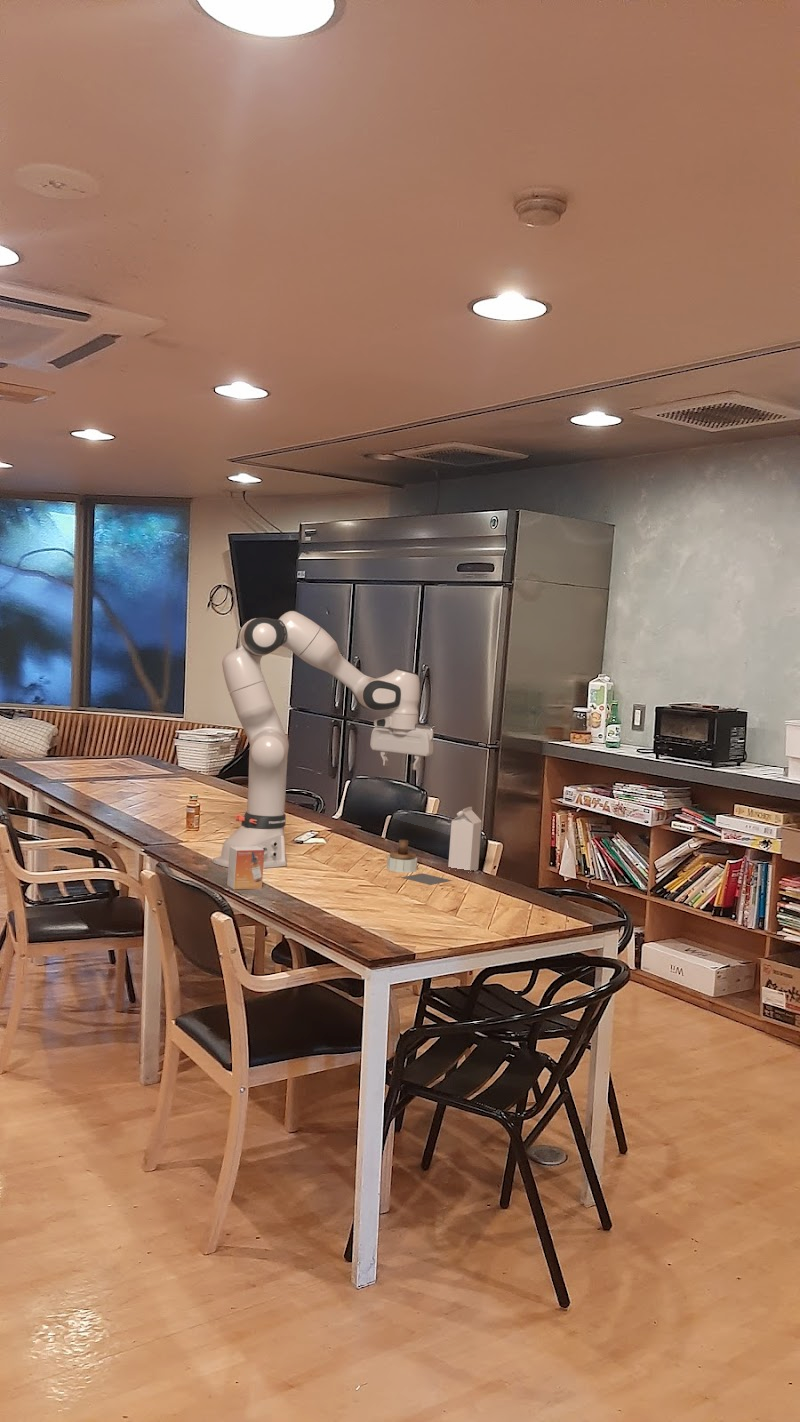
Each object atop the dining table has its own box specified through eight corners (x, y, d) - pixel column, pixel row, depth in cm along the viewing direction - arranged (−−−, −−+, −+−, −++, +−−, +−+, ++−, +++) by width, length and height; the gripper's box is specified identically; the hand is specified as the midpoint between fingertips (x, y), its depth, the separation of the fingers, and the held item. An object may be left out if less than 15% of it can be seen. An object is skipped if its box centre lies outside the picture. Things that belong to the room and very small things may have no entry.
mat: (430, 886, 304) (430, 884, 304) (400, 878, 311) (400, 877, 311) (452, 881, 312) (452, 880, 312) (422, 874, 319) (422, 873, 319)
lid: (404, 860, 317) (405, 843, 317) (384, 856, 322) (385, 839, 322) (420, 858, 323) (421, 841, 323) (400, 853, 328) (401, 837, 328)
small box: (233, 890, 284) (235, 850, 283) (226, 885, 289) (228, 846, 288) (262, 889, 288) (265, 849, 287) (255, 884, 293) (257, 845, 292)
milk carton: (478, 870, 331) (482, 808, 330) (469, 873, 325) (474, 810, 324) (456, 866, 334) (461, 805, 333) (447, 870, 328) (452, 807, 326)
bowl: (403, 875, 317) (404, 861, 316) (381, 869, 322) (382, 856, 322) (422, 871, 323) (423, 858, 323) (399, 866, 329) (400, 853, 328)
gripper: (438, 725, 330) (435, 771, 331) (379, 719, 340) (376, 763, 341) (429, 726, 325) (426, 772, 326) (369, 720, 334) (366, 764, 335)
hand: (400, 768), depth 333 cm, fingers open, 8 cm apart
